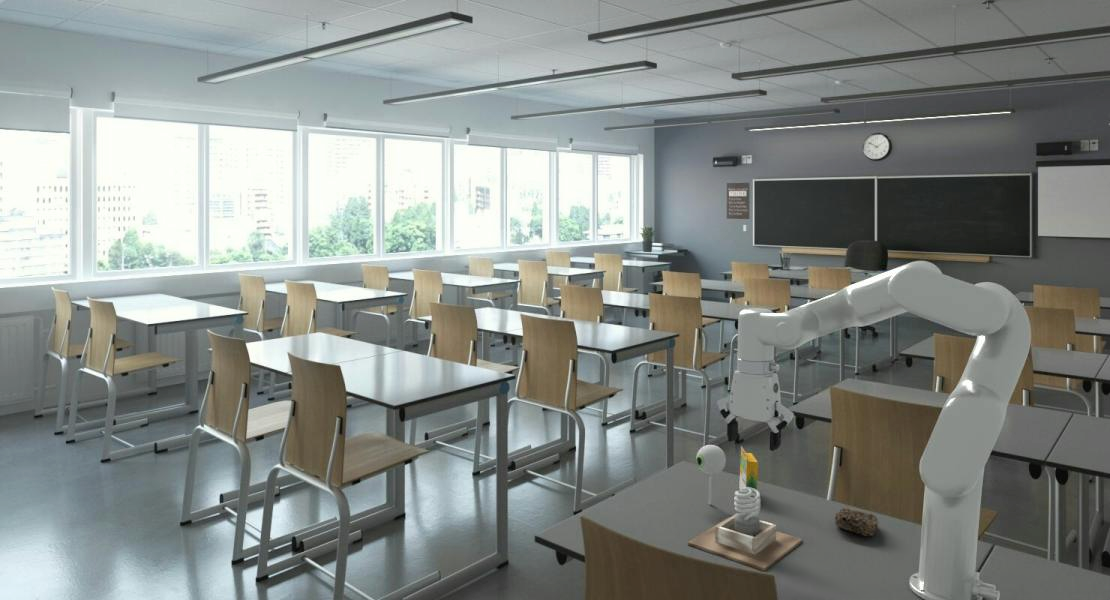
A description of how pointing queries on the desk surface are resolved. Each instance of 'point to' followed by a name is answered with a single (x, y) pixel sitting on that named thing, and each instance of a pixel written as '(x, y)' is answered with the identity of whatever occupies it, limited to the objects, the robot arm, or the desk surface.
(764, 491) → the desk surface
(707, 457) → the lollipop
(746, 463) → the crayon box
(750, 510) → the light bulb
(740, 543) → the wooden box on board
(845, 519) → the concrete sample
